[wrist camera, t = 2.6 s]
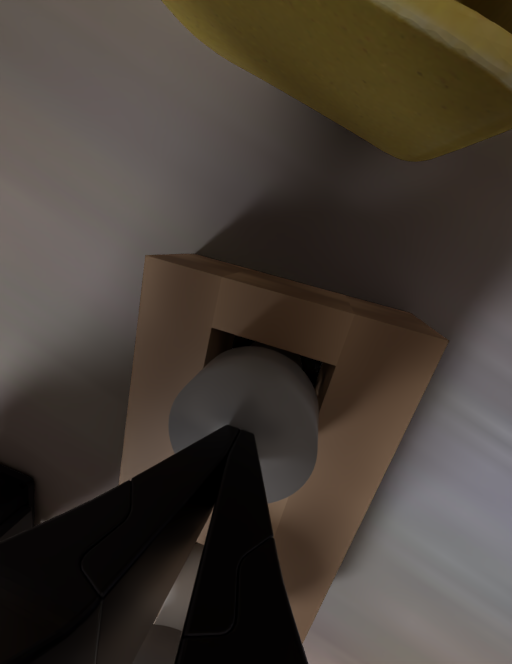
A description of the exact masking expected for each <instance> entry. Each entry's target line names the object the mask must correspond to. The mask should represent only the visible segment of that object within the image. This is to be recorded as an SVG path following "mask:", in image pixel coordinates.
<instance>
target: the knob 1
mask: <svg viewBox="0 0 512 664" xmlns="http://www.w3.org/2000/svg"><path fill="white" fill-rule="evenodd" d="M203 547H204V545H203V544H200V543H196V544H195V545H194V547H193V549H192V550H191V552H190V554H189V556H188V558H187V560H186V562H185V564H184V566H183V568H182V569H181V571H180V573H179V575H178V577H177V579H176V581H175V583H174V585H173V587H172V589H171V590H170V592H169V594H168V596H167V598H166V600H165V602H164V604H163V606H162V608H161V610H160V613H159V615H158V617H157V619H156V621H155V624H153V625H152V627H151V629H150V631H149V632H148V634H147V636H146V638H145V640H144V642H143V644H142V646H141V648H140V650H139V652H138V653H137V655H136V657H135V659H134V661H133V663H132V664H174V660H175V656H176V652H177V648H178V644H179V640H180V636H181V632H182V629H183V625H184V621H185V617H186V613H187V609H188V605H189V601H190V597H191V594H192V590H193V586H194V582H195V578H196V574H197V570H198V566H199V562H200V558H201V555H202V551H203Z"/></svg>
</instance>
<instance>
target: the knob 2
mask: <svg viewBox="0 0 512 664" xmlns="http://www.w3.org/2000/svg"><path fill="white" fill-rule="evenodd" d="M318 418H319V407H318V399H317V395H316V392H315V389H314V387H313V385H312V383H311V381H310V380H309V378H308V377H307V375H306V374H305V373H304V371H303V370H302V361H301V358H300V355H299V354H296V353H293V352H289V351H286V350H283V349H280V348H276V347H273V346H270V345H267V344H263V343H260V342H257V341H255V342H254V343H253V344H252V345H251V346H244V347H237V348H233V349H230V350H227V351H225V352H223V353H221V354H219V355H218V356H216V357H215V358H214V359H212V360H211V361H210V362H209V363H208V364H207V365H206V366H205V367H204V368H203V369H202V370H201V371H200V372H199V373H198V374H197V375H196V376H195V377H194V378H193V379H192V380H191V381H190V382H189V383H188V384H187V385H186V386H185V387H184V388H183V389H182V390H181V391H180V393H179V394H178V395H177V397H176V399H175V400H174V402H173V405H172V407H171V411H170V415H169V423H168V427H169V437H170V442H171V445H172V448H173V451H174V453H177V452H179V451H181V450H182V449H184V448H186V447H188V446H189V445H191V444H193V443H195V442H197V441H198V440H200V439H202V438H204V437H205V436H207V435H209V434H211V433H212V432H214V431H216V430H218V429H219V428H221V427H223V426H225V425H231V426H234V427H237V428H239V429H240V431H241V430H245V431H248V432H251V433H253V434H254V435H255V439H256V445H257V450H258V455H259V460H260V465H261V471H262V476H263V481H264V486H265V492H266V497H267V502H268V503H273V502H277V501H280V500H282V499H285V498H287V497H289V496H290V495H292V494H294V493H295V492H296V491H298V490H299V489H300V488H301V487H302V486H303V485H304V484H305V483H306V481H307V480H308V479H309V477H310V476H311V473H312V471H313V469H314V467H315V463H316V459H317V451H318Z"/></svg>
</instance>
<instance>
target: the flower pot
mask: <svg viewBox="0 0 512 664" xmlns="http://www.w3.org/2000/svg"><path fill="white" fill-rule="evenodd" d="M161 1H162V2H163V3H164V4H165V5H166V6H167V8H168V9H169V10H170V11H171V12H172V13H173V14H174V15H175V17H176V18H177V19H178V20H179V21H180V22H181V23H182V24H183V25H184V26H185V27H186V28H187V29H188V30H189V31H190V32H191V33H192V34H193V35H194V36H195V37H197V38H198V39H199V40H200V41H201V42H203V43H204V44H205V45H207V46H208V47H209V48H211V49H212V50H213V51H215V52H216V53H217V54H219V55H220V56H222V57H224V58H225V59H227V60H228V61H230V62H232V63H234V64H235V65H237V66H239V67H241V68H242V69H244V70H246V71H248V72H250V73H252V74H253V75H255V76H257V77H259V78H261V79H262V80H264V81H266V82H268V83H269V84H271V85H273V86H274V87H276V88H278V89H280V90H281V91H283V92H285V93H287V94H288V95H290V96H292V97H293V98H295V99H297V100H299V101H300V102H302V103H304V104H305V105H307V106H309V107H310V108H312V109H314V110H316V111H317V112H319V113H321V114H322V115H324V116H326V117H327V118H329V119H331V120H332V121H334V122H336V123H337V124H339V125H341V126H343V127H344V128H346V129H348V130H349V131H351V132H353V133H354V134H356V135H358V136H359V137H361V138H363V139H364V140H366V141H367V142H369V143H371V144H372V145H374V146H376V147H377V148H379V149H380V150H382V151H384V152H386V153H388V154H389V155H391V156H393V157H396V158H398V159H401V160H405V161H413V162H418V161H425V160H430V159H433V158H436V157H439V156H442V155H444V154H447V153H450V152H453V151H456V150H459V149H461V148H464V147H467V146H469V145H472V144H475V143H477V142H480V141H482V140H485V139H488V138H490V137H493V136H495V135H498V134H501V133H503V132H506V131H508V130H510V129H512V0H161Z"/></svg>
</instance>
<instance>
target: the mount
mask: <svg viewBox="0 0 512 664" xmlns="http://www.w3.org/2000/svg"><path fill="white" fill-rule="evenodd" d="M235 335H238V336H241V337H244V338H247V339H251V340H254V341H257V342H260V343H263V344H267V345H270V346H273V347H276V348H280V349H283V350H286V351H289V352H293V353H296V354H299V355H302V356H306V357H309V358H312V359H315V360H319V361H322V365H321V368H320V371H319V374H318V377H317V380H316V383H315V385H314V389H315V392H316V395H317V399H318V407H319V418H318V451H317V459H316V463H315V467H314V469H313V471H312V473H311V476H310V477H309V479H308V480H307V481H306V483H305V484H304V485H303V486H302V487H301V488H300V489H299V490H298V491H296V492H295V493H294V494H292V495H290V496H289V497H287V498H285V499H282V500H280V501H277V502H273V503H268V507H269V513H270V518H271V523H272V528H273V533H274V537H273V538H274V539H275V543H276V548H277V553H278V558H279V563H280V567H281V572H282V576H283V581H284V584H285V588H286V591H287V595H288V598H289V602H290V605H291V609H292V613H293V616H294V619H295V622H296V626H297V629H298V632H299V635H300V638H301V642H302V643H303V641H304V639H305V637H306V635H307V633H308V631H309V629H310V627H311V625H312V623H313V621H314V619H315V617H316V615H317V613H318V610H319V608H320V606H321V604H322V602H323V600H324V598H325V596H326V594H327V592H328V590H329V588H330V586H331V584H332V582H333V579H334V577H335V575H336V573H337V571H338V569H339V567H340V565H341V563H342V561H343V559H344V557H345V555H346V553H347V551H348V549H349V546H350V544H351V542H352V540H353V538H354V536H355V534H356V532H357V530H358V528H359V526H360V524H361V522H362V520H363V518H364V515H365V513H366V511H367V509H368V507H369V505H370V503H371V501H372V499H373V497H374V495H375V493H376V491H377V489H378V487H379V485H380V482H381V480H382V478H383V476H384V474H385V472H386V470H387V468H388V466H389V464H390V462H391V460H392V458H393V456H394V454H395V452H396V449H397V447H398V445H399V443H400V441H401V439H402V437H403V435H404V433H405V431H406V429H407V427H408V425H409V423H410V421H411V418H412V416H413V414H414V412H415V410H416V408H417V406H418V404H419V402H420V400H421V398H422V396H423V394H424V392H425V390H426V388H427V385H428V383H429V381H430V379H431V377H432V375H433V373H434V371H435V369H436V367H437V365H438V363H439V361H440V359H441V357H442V354H443V352H444V350H445V348H446V346H447V344H448V342H449V340H447V339H446V338H444V337H443V336H442V335H440V334H439V333H438V332H436V331H435V330H433V329H432V328H431V327H429V326H428V325H427V324H425V323H424V322H422V321H421V320H420V319H418V318H417V317H416V316H414V315H413V314H411V313H409V312H405V311H401V310H398V309H394V308H390V307H387V306H383V305H379V304H376V303H372V302H368V301H365V300H361V299H357V298H354V297H350V296H347V295H343V294H339V293H336V292H332V291H328V290H325V289H321V288H317V287H314V286H310V285H306V284H303V283H299V282H295V281H292V280H288V279H285V278H281V277H277V276H274V275H270V274H266V273H263V272H259V271H255V270H252V269H248V268H244V267H241V266H237V265H233V264H230V263H226V262H223V261H219V260H215V259H212V258H208V257H204V256H201V255H197V254H169V255H145V263H144V272H143V281H142V289H141V298H140V306H139V315H138V323H137V332H136V341H135V349H134V358H133V366H132V375H131V384H130V392H129V401H128V409H127V418H126V426H125V435H124V444H123V452H122V461H121V469H120V478H119V485H120V484H122V483H124V482H126V481H127V480H131V479H132V478H133V477H135V476H136V475H138V474H140V473H142V472H143V471H145V470H147V469H149V468H151V467H152V466H154V465H156V464H158V463H159V462H161V461H163V460H165V459H166V458H168V457H170V456H172V455H174V454H175V453H174V451H173V448H172V445H171V442H170V437H169V427H168V423H169V415H170V411H171V407H172V405H173V402H174V400H175V399H176V397H177V395H178V394H179V393H180V391H181V390H182V389H183V388H184V387H185V386H186V385H187V384H188V383H189V382H190V381H191V380H192V379H193V378H194V377H195V376H196V375H197V374H198V373H199V372H200V371H201V370H202V369H203V368H204V367H205V366H206V365H207V364H208V363H209V362H210V361H211V360H212V359H214V358H215V357H216V356H218V355H219V354H221V353H223V352H225V351H227V350H230V349H232V346H233V342H234V337H235ZM213 508H214V507H213ZM212 512H213V510H212ZM212 512H211V514H210V516H209V518H208V520H207V522H206V524H205V526H204V528H203V529H202V531H201V533H200V535H199V537H198V539H197V541H196V543H200V544H203V545H204V543H205V539H206V535H207V531H208V527H209V523H210V520H211V516H212ZM196 543H195V544H196ZM159 613H160V611H159ZM159 613H158V615H159ZM158 615H157V617H158Z"/></svg>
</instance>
